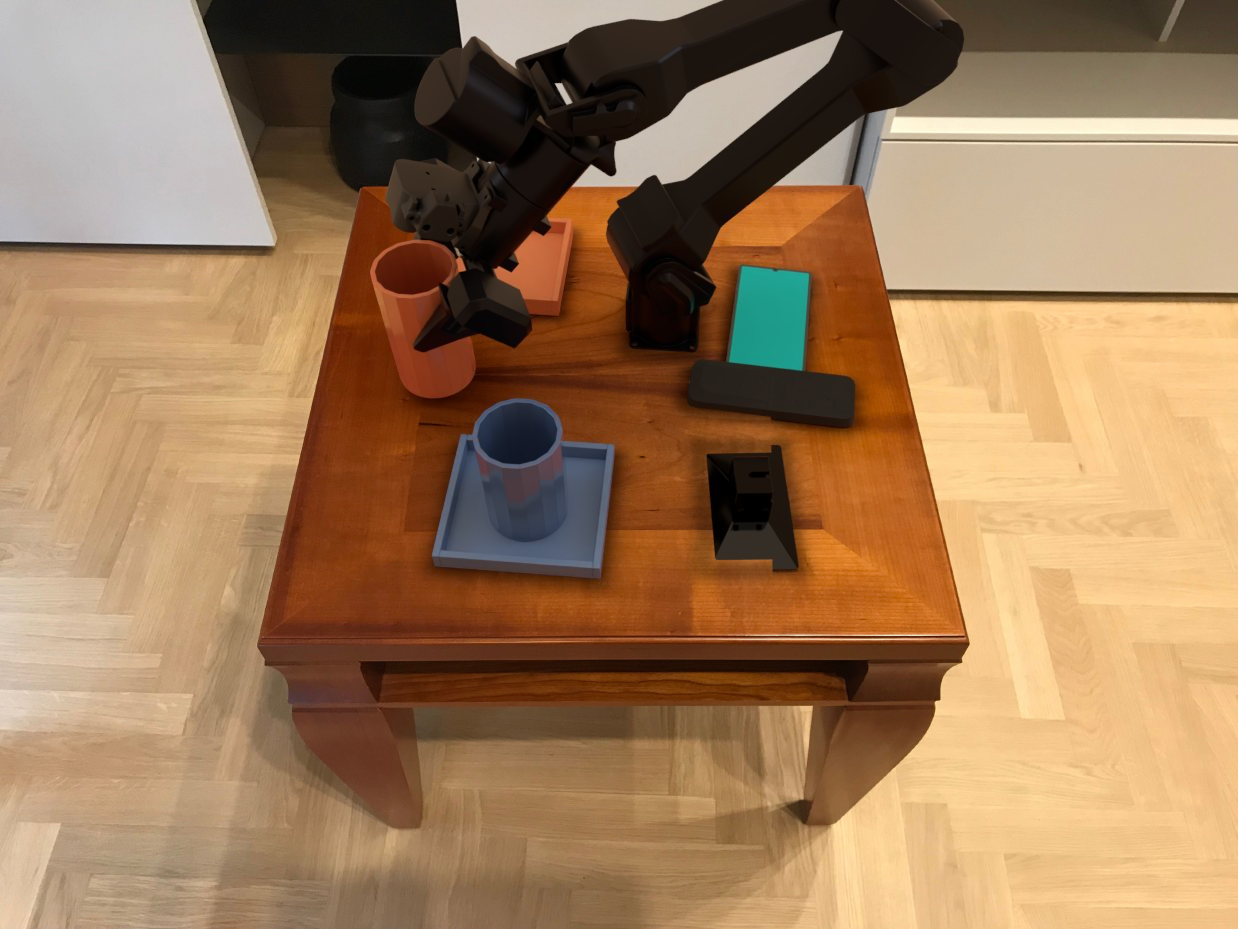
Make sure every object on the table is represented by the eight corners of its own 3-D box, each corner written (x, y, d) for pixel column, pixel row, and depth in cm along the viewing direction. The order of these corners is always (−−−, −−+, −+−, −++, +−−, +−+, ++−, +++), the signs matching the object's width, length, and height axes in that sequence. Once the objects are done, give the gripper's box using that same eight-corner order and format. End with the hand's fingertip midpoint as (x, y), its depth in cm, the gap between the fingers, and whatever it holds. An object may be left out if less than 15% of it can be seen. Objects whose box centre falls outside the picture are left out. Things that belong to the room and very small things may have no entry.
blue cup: (572, 478, 80) (567, 401, 72) (563, 544, 76) (555, 471, 68) (495, 472, 80) (481, 395, 72) (481, 538, 76) (465, 464, 68)
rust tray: (573, 234, 99) (572, 218, 98) (558, 316, 92) (557, 300, 90) (449, 227, 100) (446, 211, 98) (425, 307, 93) (421, 292, 91)
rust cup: (481, 344, 87) (463, 241, 77) (468, 401, 83) (447, 300, 73) (409, 340, 87) (382, 237, 77) (392, 396, 83) (361, 295, 73)
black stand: (798, 572, 75) (807, 541, 71) (706, 573, 75) (710, 542, 71) (780, 447, 82) (787, 413, 78) (696, 448, 82) (699, 414, 78)
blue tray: (614, 458, 82) (614, 444, 80) (600, 581, 74) (600, 568, 73) (463, 447, 82) (460, 433, 81) (435, 569, 75) (431, 555, 73)
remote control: (853, 388, 86) (690, 365, 87) (858, 376, 85) (692, 353, 86) (852, 432, 84) (684, 408, 85) (856, 421, 82) (686, 396, 83)
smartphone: (724, 373, 86) (739, 263, 95) (723, 379, 87) (738, 270, 95) (805, 383, 85) (813, 271, 94) (804, 389, 86) (811, 278, 95)
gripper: (413, 63, 72) (306, 212, 79) (470, 212, 62) (341, 368, 68) (522, 134, 80) (416, 263, 87) (589, 276, 69) (463, 411, 76)
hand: (408, 320), depth 79 cm, fingers closed on rust cup, 7 cm apart
